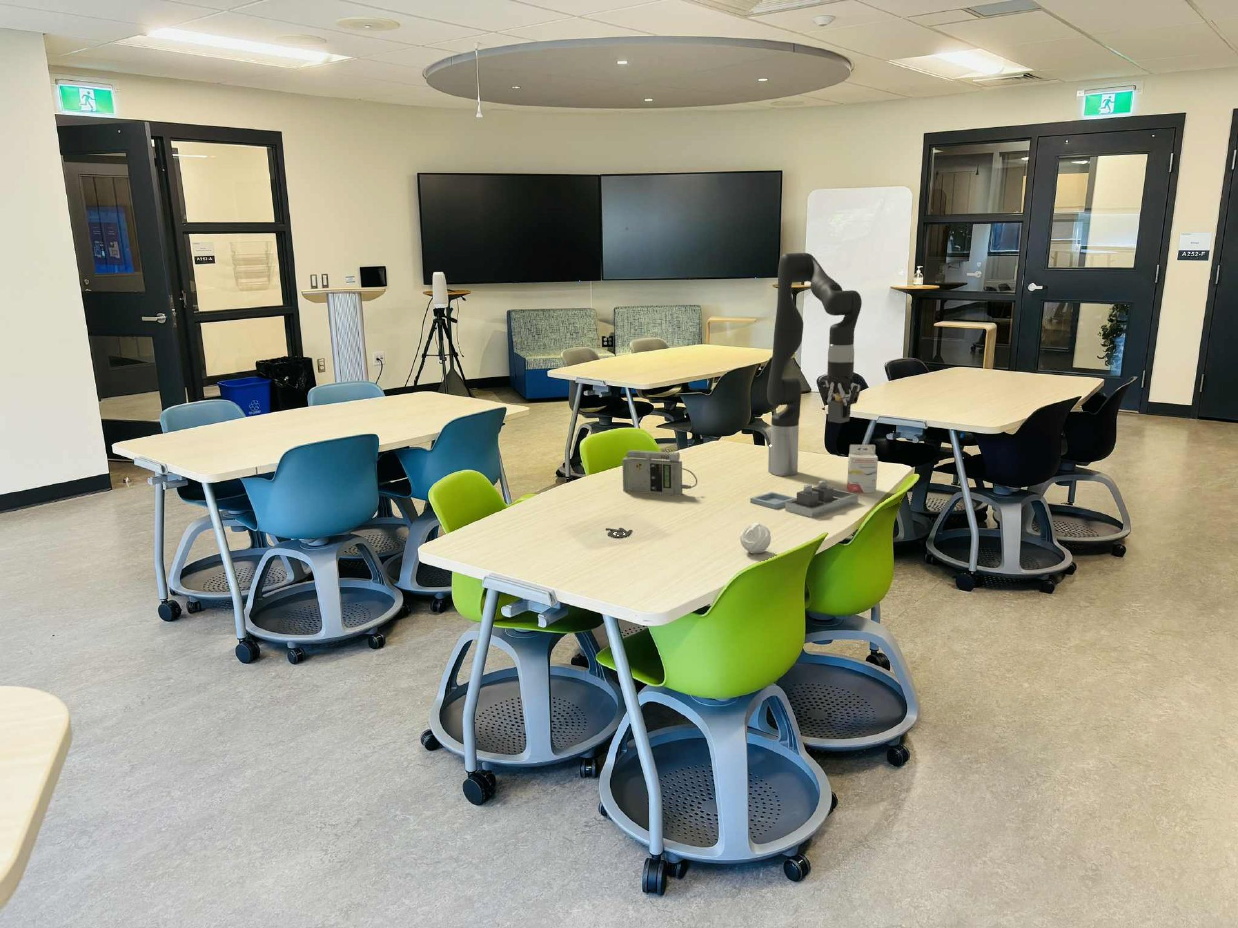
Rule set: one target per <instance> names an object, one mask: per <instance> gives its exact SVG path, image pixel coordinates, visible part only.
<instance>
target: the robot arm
mask: <svg viewBox="0 0 1238 928" xmlns="http://www.w3.org/2000/svg"><path fill="white" fill-rule="evenodd" d="M778 262H779V263H778V267H777V300H776V301H777V303H776V313H775V320H774V321H775V322H774V331H773V343H772V344H773V345H772V358H771V364H770V370H769V376H768V381H767V388H766V398H767V401H768V404H770V405H771V406H785V408H784V409H782V410H781V411H779V412H778V413H775V414H773V415H772V416H771V420H770V421H771V425H770V427H771V431H770V445H768V462H767V465H768V467H767V469H768V471H767V472H768V473H771V474H772V475H774V476H779V477H780V476H782V477H787V476H788V477H789V476H796V475H797V474H798V472H799V471H798V469H799V468H798V467H799V463H798V462H799V431H800V430H799V429H800V428H799V427H800V425H799V424H800V417H801V404H802V403H801V402H802V383H801V381H800V379H799V378H798V377H794V376H792V377H791V376H789V377H783V375H784V371H785V368H786V366H788V365H787V364H788V363H789V362H790V360H791V359H792V358H793V356H794V355H795V354H796V352H797V351H798V349H799V348H800V346H801V344H802V341H803V333H804V320H803V317H802V315H801V313H800V311H799V309H798V308H797V306H796V304H795V301H794V299H793V293H792V284H794V283H795V284H797V283H798V284H799V283H805V282H806V283H807V282H808V283H810V291H811V293H812V295H813V296H814V297H815V298H817V299H818V300H819V301H820V302H821V303H822V306H823V309H824V312H826V314H828V315H830V316H843V319H842V320H841V321H840V322H837V323H834V324H832V325H830V326H829V327H830V328H829V337H828V338H829V340H828V342H829V343H828V349H827V373H826V374H827V376H828V377H827V379H826V380H825V379H824V380H820V381H819V382H818V383H819V389H820V395H821V398H822V399H821V400H823V401H825V402H827V404H828V401H833V400H835V394H840V395H841V398H842V399H843V404H844V406H843V418H848V417H849V416H851V406H852V405H855V404H858V403H857V402H858V399H859V396H860V393H861V390H862V385H861V384H857V383H854V380H853V376H854V371H855V370H854V367H855V330H856V324H857V323H858V319H859V315H860V313H861V309H862V304H863V302H862V295H860V293H859V292H858V291H857V290H843V288H842V286H841V285H840V284H839V283H838V282H836V281H835V280H834V279H833V278H831V277H830V276H829V275H828V274H827V273H826V271H825V270H824V269H823V267H822V266H821V264H820V263H819V262H818V260H817V259H816V258H815V256H813V255H812V254H811V253H807V252H793V253H791V252H789V253H783V254H782V255H781V257H780V259H779V261H778ZM849 418H850V417H849Z"/></svg>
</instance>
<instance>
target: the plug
mask: <svg viewBox="0 0 1238 928" xmlns="http://www.w3.org/2000/svg"><path fill="white" fill-rule="evenodd" d="M843 406H844V404H843V399H842V398H841V395H840V394H835V400H833V401H828V403H827V421H828V422H830V423H836V424H837V423H838V424H842V423H843V424H844V423H847V422H850V416H851V415H850V416H849V417H848V418H843Z"/></svg>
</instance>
